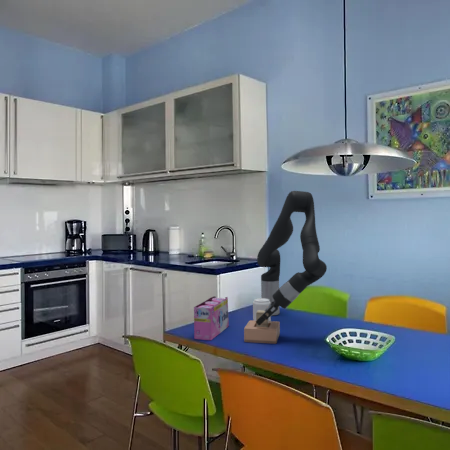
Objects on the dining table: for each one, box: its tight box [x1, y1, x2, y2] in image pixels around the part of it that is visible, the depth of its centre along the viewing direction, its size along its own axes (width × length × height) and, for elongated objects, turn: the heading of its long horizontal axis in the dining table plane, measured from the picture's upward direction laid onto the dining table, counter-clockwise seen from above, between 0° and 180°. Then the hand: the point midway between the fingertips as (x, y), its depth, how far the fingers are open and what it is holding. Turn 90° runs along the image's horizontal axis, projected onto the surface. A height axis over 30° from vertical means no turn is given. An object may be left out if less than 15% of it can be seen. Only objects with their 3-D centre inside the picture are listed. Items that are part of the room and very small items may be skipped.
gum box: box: [193, 296, 230, 341], centre depth 188 cm, size 24×8×14 cm, turn 160°
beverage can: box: [252, 297, 272, 321], centre depth 196 cm, size 8×8×12 cm
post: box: [256, 310, 268, 327], centre depth 177 cm, size 4×4×10 cm
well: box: [243, 319, 281, 345], centre depth 177 cm, size 13×13×6 cm
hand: (259, 320), depth 177 cm, fingers open, 8 cm apart
